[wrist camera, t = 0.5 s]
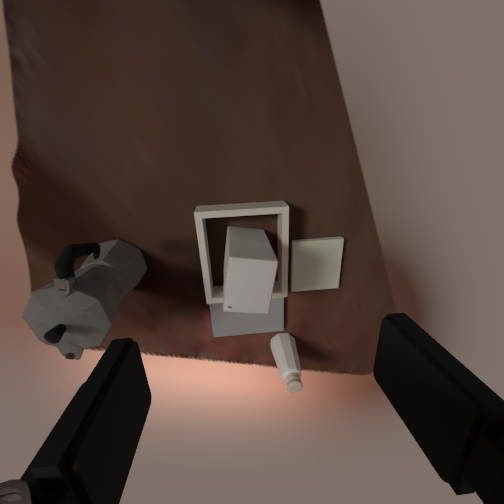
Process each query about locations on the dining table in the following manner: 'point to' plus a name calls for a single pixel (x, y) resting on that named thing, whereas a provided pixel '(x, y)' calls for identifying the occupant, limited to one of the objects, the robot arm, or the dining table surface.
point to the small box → (248, 271)
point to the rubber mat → (316, 263)
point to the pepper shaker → (287, 361)
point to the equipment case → (214, 294)
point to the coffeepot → (84, 295)
